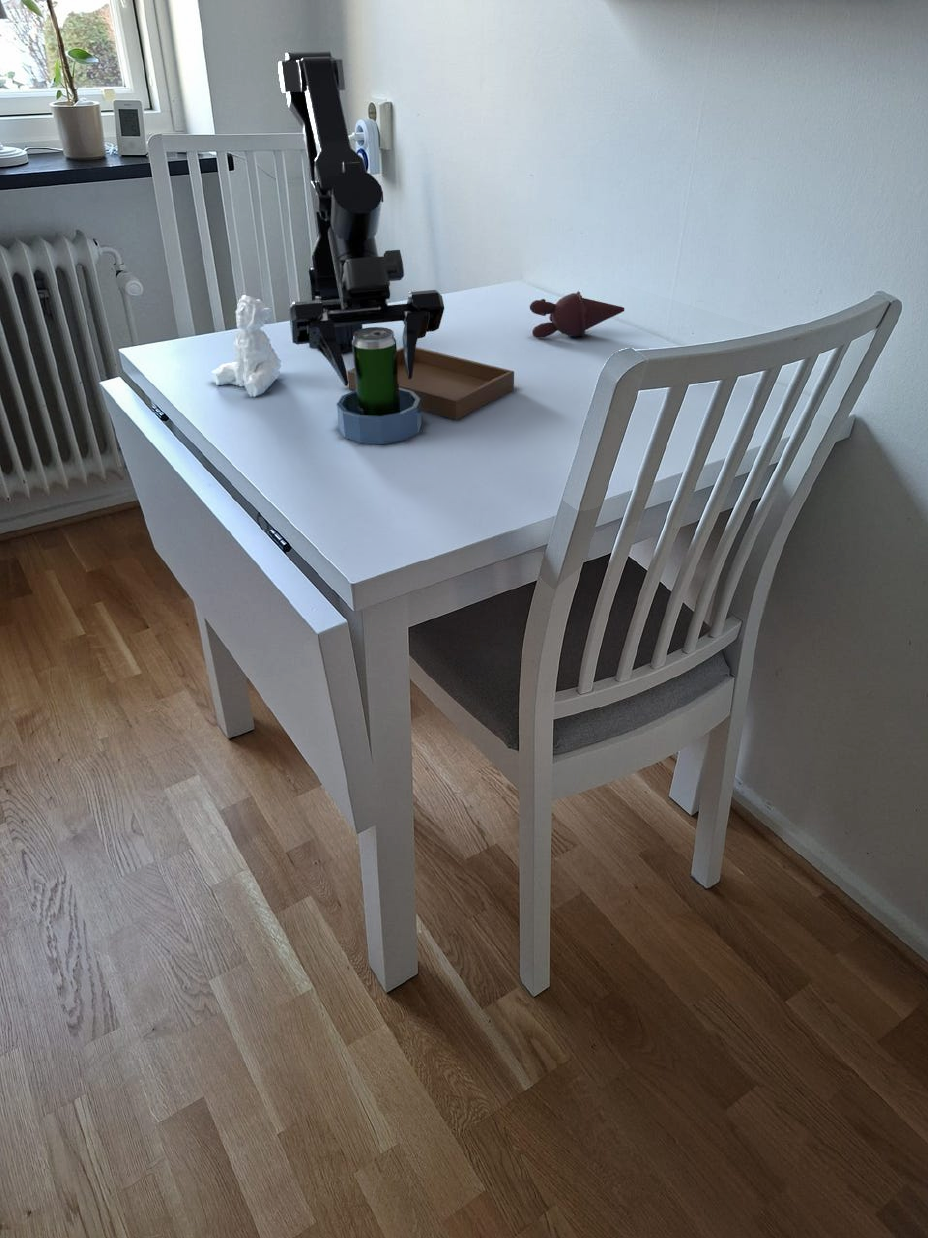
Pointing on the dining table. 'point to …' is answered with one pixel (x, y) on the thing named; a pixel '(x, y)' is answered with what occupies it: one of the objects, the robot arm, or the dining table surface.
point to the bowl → (379, 420)
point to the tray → (450, 382)
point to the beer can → (376, 371)
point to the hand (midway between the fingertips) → (378, 380)
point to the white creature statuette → (251, 351)
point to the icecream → (572, 315)
